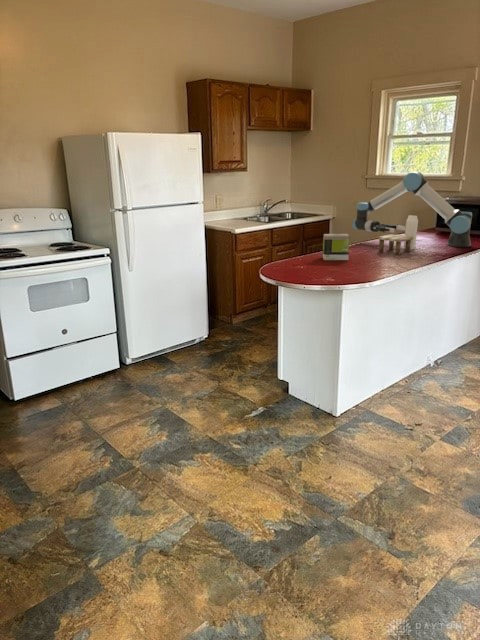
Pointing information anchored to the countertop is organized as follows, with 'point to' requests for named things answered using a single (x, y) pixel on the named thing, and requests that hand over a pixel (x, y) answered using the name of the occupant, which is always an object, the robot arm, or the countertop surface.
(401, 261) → the countertop surface
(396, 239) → the small table
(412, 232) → the milk
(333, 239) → the tea box
